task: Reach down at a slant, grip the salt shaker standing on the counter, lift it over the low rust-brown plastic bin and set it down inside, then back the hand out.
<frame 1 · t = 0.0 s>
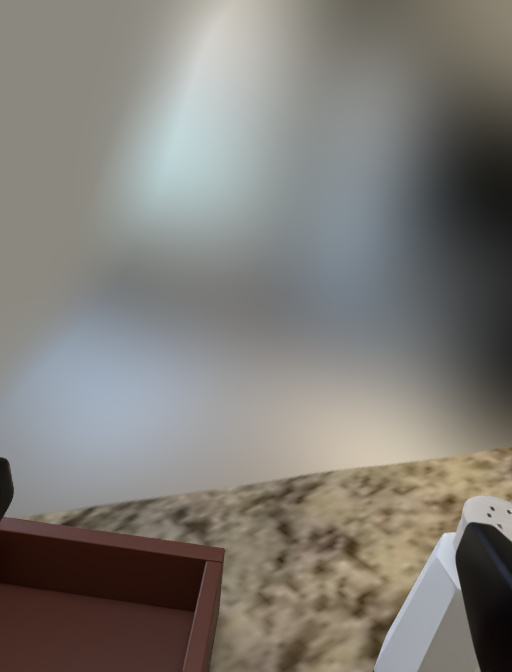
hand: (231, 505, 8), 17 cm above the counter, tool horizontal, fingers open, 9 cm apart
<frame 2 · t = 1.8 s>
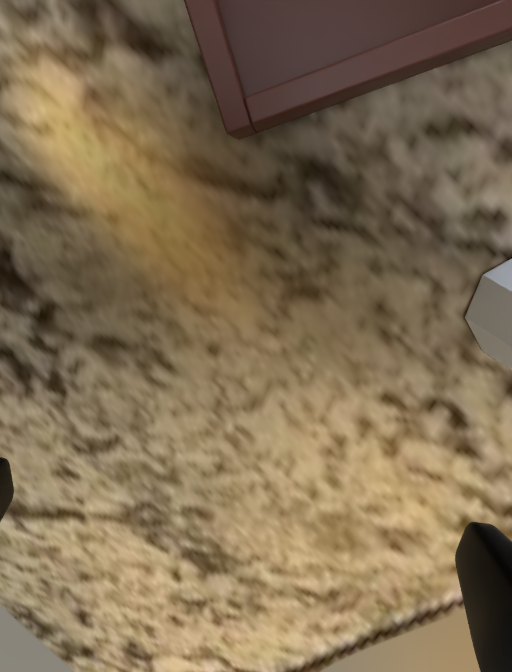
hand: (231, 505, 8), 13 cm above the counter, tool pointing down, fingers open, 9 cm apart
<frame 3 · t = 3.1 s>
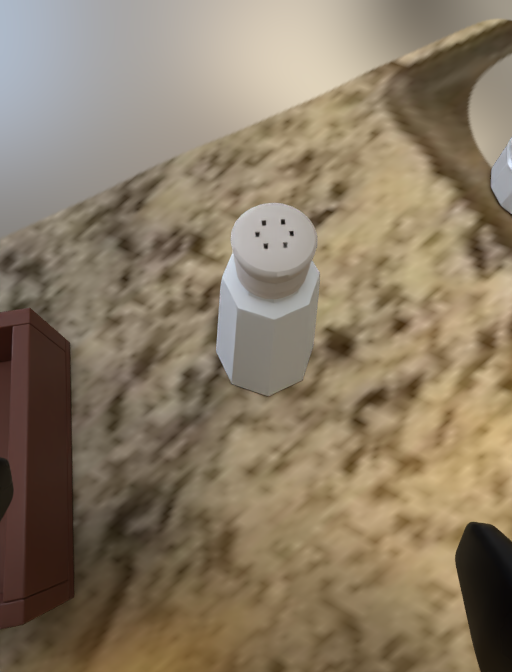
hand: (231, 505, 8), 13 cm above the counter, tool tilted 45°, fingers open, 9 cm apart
salt shaker: (264, 350, 24), on the counter
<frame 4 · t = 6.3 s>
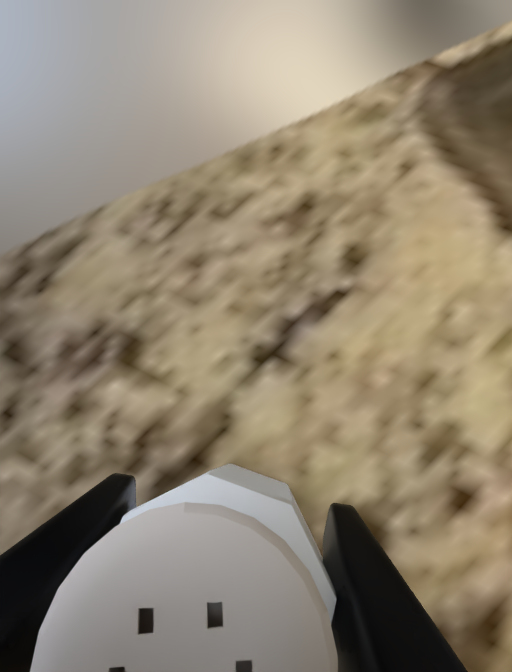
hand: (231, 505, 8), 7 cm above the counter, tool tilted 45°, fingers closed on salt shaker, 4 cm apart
salt shaker: (233, 549, 14), on the counter, touching gripper
when the fingers open (7 cm above the counter, at t = 13.4 s): salt shaker stays where it is, resting on bin.
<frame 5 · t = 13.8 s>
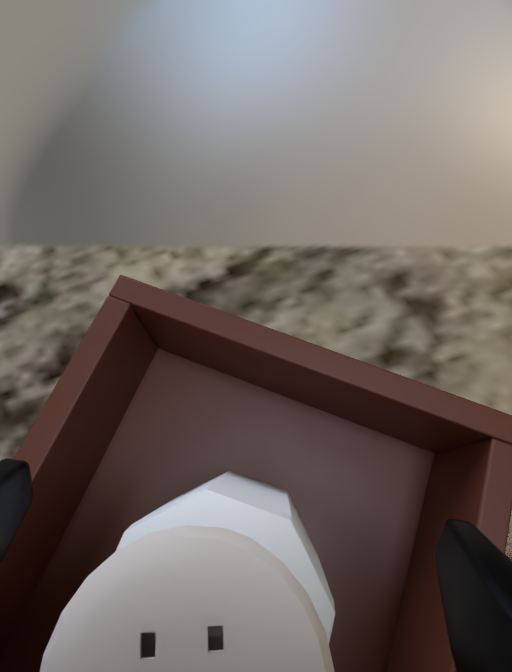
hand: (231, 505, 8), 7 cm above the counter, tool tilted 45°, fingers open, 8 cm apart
bin: (235, 548, 15), on the counter
salt shaker: (234, 555, 14), resting on bin
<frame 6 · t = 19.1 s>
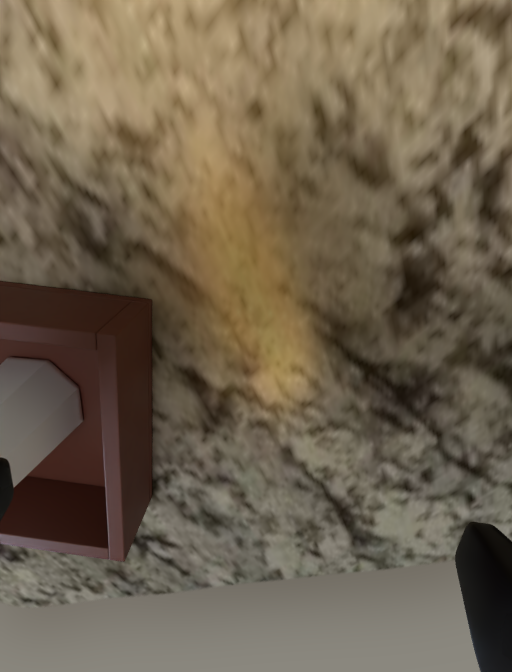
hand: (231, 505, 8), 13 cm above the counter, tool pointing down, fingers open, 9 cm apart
bin: (40, 393, 23), on the counter
salt shaker: (39, 396, 23), resting on bin
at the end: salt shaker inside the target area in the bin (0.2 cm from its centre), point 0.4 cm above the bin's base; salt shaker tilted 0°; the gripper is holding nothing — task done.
